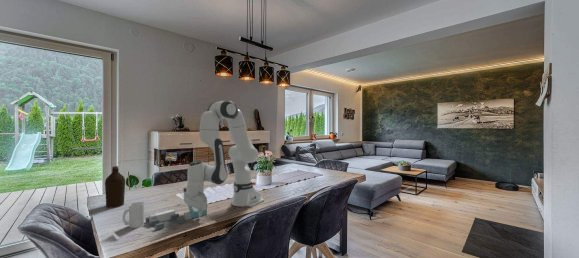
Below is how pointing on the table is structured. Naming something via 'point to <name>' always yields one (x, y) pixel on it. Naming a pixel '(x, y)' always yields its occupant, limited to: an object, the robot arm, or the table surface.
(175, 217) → the cord comb
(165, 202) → the table surface
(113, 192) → the olive oil
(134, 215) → the mug
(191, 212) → the teal rectangular block
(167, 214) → the grey elongated block
